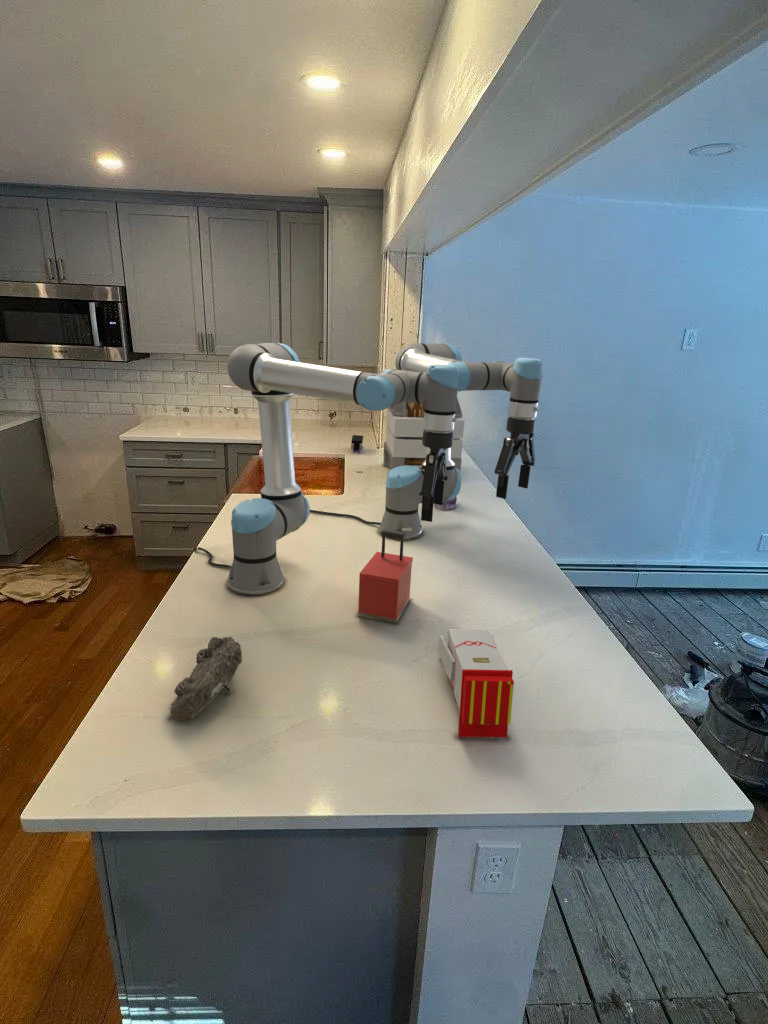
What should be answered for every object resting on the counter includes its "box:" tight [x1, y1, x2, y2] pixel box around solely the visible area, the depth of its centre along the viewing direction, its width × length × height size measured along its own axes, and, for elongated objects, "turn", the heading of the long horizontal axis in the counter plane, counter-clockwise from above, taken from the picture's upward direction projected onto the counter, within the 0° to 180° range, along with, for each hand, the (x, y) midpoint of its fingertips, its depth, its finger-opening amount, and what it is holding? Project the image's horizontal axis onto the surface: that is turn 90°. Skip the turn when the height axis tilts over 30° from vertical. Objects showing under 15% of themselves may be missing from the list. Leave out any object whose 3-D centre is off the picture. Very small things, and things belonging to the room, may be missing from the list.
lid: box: [359, 529, 414, 584], centre depth 146 cm, size 14×10×9 cm
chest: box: [357, 562, 413, 624], centre depth 149 cm, size 14×10×11 cm
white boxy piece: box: [383, 397, 465, 475], centre depth 268 cm, size 34×33×41 cm
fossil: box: [169, 636, 243, 721], centre depth 114 cm, size 22×10×15 cm
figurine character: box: [350, 434, 364, 454], centre depth 311 cm, size 7×8×15 cm
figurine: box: [435, 496, 458, 511], centre depth 227 cm, size 9×10×15 cm
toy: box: [437, 628, 515, 738], centre depth 117 cm, size 12×13×30 cm
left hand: (432, 512), depth 146 cm, fingers open, 13 cm apart
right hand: (512, 492), depth 160 cm, fingers open, 13 cm apart
